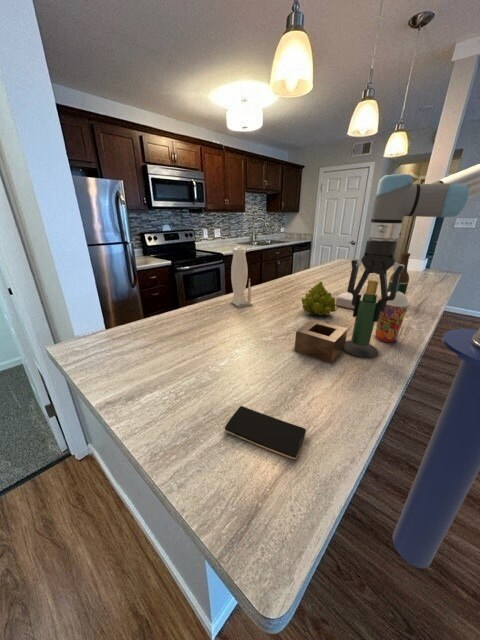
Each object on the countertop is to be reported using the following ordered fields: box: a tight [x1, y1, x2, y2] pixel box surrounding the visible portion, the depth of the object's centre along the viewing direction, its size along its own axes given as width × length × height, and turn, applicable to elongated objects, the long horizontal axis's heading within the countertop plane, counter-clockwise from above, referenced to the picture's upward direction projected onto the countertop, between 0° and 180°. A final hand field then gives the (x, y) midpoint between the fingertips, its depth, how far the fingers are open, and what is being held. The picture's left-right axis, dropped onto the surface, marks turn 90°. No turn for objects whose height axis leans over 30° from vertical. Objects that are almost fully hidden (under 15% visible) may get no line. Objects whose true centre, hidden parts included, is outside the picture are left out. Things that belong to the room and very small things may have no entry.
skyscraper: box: [230, 243, 253, 309], centre depth 119 cm, size 8×8×28 cm
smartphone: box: [224, 405, 307, 460], centre depth 52 cm, size 7×1×15 cm
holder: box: [293, 318, 349, 364], centre depth 83 cm, size 12×12×7 cm
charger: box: [335, 292, 363, 310], centre depth 121 cm, size 5×9×15 cm
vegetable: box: [301, 281, 339, 317], centre depth 112 cm, size 15×16×15 cm
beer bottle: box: [387, 252, 411, 296], centre depth 123 cm, size 8×8×24 cm
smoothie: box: [374, 283, 410, 343], centre depth 88 cm, size 8×8×20 cm
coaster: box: [342, 340, 379, 359], centre depth 84 cm, size 11×11×1 cm
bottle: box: [350, 279, 379, 346], centre depth 80 cm, size 5×5×20 cm
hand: (365, 317), depth 80 cm, fingers closed on bottle, 5 cm apart
